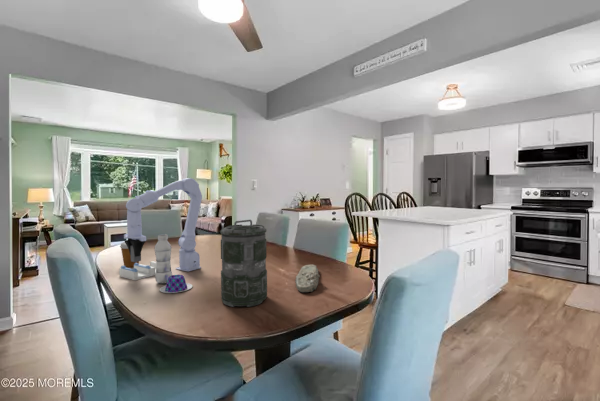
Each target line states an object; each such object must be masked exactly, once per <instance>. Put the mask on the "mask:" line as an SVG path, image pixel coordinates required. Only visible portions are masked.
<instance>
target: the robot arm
mask: <svg viewBox="0 0 600 401" xmlns="http://www.w3.org/2000/svg"><path fill="white" fill-rule="evenodd" d="M179 190H180V191H183V192H184V193H185V194H187V196H188V197H189V198H190V201H189V205H188V211H187V216H186V219H185V224H184V229H183V231H182V232H181V236H180V237H179V239H178V243H177V244H178V246H179V247H180V248H179V250H178V253H179V254H178V257H179V258H178V259H179V267H175V270H179V271H184V272H191V271H195V270H198V269H202V266H200V265H201V264H200V261H201V259H200V256H201V255H200V254H199V252H198V251H196V249H195V248H196V246H197V243H196V227H197V223H198V217H199V214H200V208H201V205H202V201H203V194H202V192H201V189H200V184H199V182H197V181H196V180H195V179H194V178H192V177H188V178H187V177H185V178H182V179H179V180H176V181H173V182H171V183H168V184H167V185H165V186H164V187H163V186H162V187H161V188H159V189H157V190H152V189H151V190H148V189H147V190H146V191H144V193H142V194H140V195H135V196H134V198H130V199H128V200H127V202H126V204H125V208H126V209H127V210H126V214H127V215H126V228H127V230H126V231H127V233H125V234H123V239H125V240H124V242H125V243H126V245H127V247H128V249H129V252H130V255H131V251H130V246H133V249H134V255H135V257H137V256H140V255H141V256H142V249H143V247H144V245H145V244H146V241H147V235H143V229H142V228H143V226H142V224H143V222H142V219H143V218H142V208H146V207H148V206H150V205H153V204H154V203H157V202H158V201H159V198H160V197H163V196H165V195H167V194H169V193H172V192H173V191H179Z"/></svg>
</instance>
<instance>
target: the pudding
mask: <svg viewBox="0 0 600 401" xmlns="http://www.w3.org/2000/svg"><path fill="white" fill-rule="evenodd" d="M192 288H193V284H191V283H187V281H186V278H185V275H183V274H172V276H169V278H168V280H167V283H165V285H164V286H162V287H160V288H159V291H160V292H161V293H164V294H176V293H181V292H186V291H188V290H190V289H192Z"/></svg>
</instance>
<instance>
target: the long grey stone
mask: <svg viewBox="0 0 600 401" xmlns="http://www.w3.org/2000/svg"><path fill="white" fill-rule="evenodd" d="M320 276H321V275H320V274H319V269H318V267H317V265H315V264H305V265H302V266H301V267H300V270H299V271H298V274H296V276H295V279H294V280H295V282H294V283H295V287H296V289H297V290H298V292H300V293H309V292H311V293H312V292H314V290H316V289H317V288H318V285H319V279H320Z"/></svg>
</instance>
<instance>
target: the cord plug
mask: <svg viewBox="0 0 600 401" xmlns="http://www.w3.org/2000/svg"><path fill="white" fill-rule="evenodd" d="M130 251H131V261H132V262H137V261H139V262H141V261H142V254H141V255H140V256H137V257H135V255H134V249H133V246H130Z"/></svg>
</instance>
